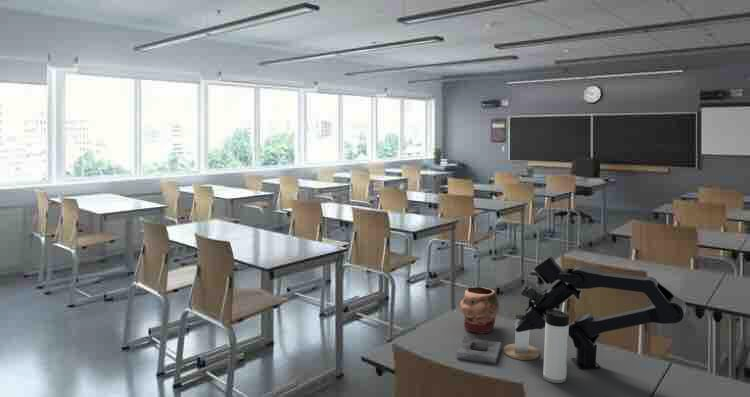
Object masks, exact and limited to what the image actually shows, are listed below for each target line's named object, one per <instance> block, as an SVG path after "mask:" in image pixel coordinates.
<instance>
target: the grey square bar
mask: <svg viewBox="0 0 750 397" xmlns="http://www.w3.org/2000/svg"><path fill="white" fill-rule="evenodd" d="M525 314H526V311H525V310H520V309H516V314H515V325H514V327H515V328H514V329H515V330H514V344H515V350H514V352H516V353H523V354H528V349H529V345H530V344H529V343H530V330H527V331H522V332H517V331H516V328H517V327H518V326H519V325H520V323H521V322H522V321H523V320H524V319H525V318H526V315H525Z"/></svg>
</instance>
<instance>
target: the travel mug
mask: <svg viewBox="0 0 750 397" xmlns="http://www.w3.org/2000/svg"><path fill="white" fill-rule="evenodd" d="M545 317H546V324H545V327H544V345H543V348H544V350H543V370H542V371H543V373H542V377H543V379H544V380H546V381H547V382H550V383H554V384H561V383H564V382H566V381H567V370H568V369H567V367H568V350H569V349H568V348H569V347H568V346H569V326H570V315H569V314H568V313H565V312H564V311H561V310H558V309H557V310H556V309H555V310H547V311H546V316H545Z"/></svg>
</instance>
